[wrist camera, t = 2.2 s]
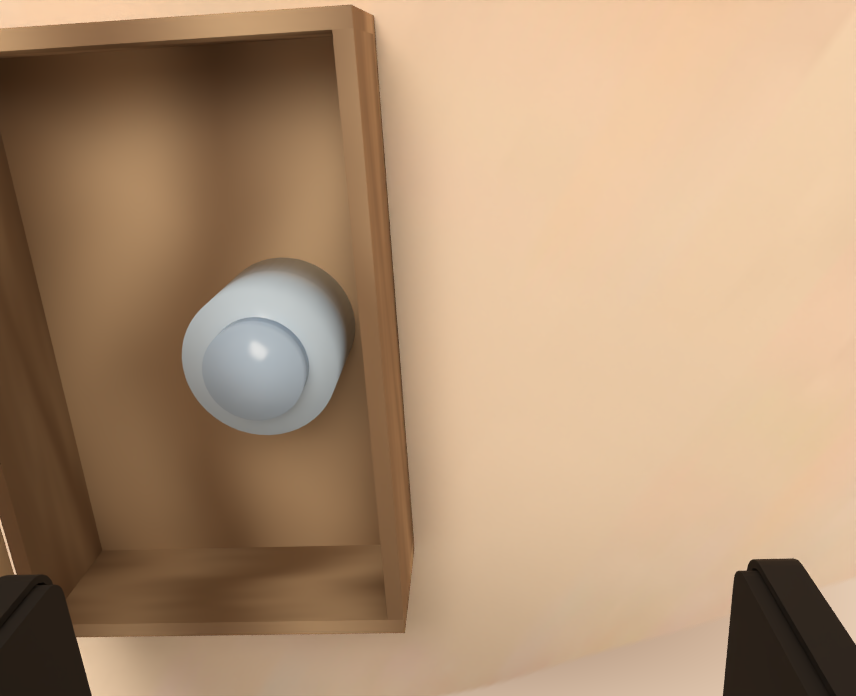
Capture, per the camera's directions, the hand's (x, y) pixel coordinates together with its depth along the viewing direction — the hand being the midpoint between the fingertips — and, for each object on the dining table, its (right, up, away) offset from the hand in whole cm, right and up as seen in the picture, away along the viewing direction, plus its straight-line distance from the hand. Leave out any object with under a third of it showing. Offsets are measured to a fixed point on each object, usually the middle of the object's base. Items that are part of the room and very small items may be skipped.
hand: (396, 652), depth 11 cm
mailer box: (-7, +5, +15) cm, 17 cm away
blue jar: (-4, +5, +14) cm, 16 cm away
